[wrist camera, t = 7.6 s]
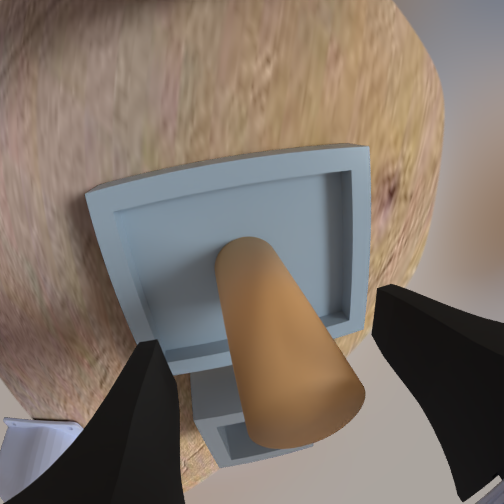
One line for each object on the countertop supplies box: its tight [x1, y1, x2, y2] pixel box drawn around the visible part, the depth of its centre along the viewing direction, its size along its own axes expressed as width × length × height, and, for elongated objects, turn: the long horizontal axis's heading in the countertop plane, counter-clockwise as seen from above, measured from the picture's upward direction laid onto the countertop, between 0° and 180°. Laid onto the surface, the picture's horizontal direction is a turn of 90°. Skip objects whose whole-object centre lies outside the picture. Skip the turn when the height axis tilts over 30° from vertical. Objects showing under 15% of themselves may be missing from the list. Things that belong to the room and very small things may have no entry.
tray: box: [85, 143, 371, 375], centre depth 14 cm, size 12×10×2 cm
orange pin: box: [214, 237, 365, 449], centre depth 10 cm, size 3×3×8 cm
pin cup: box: [190, 365, 313, 468], centre depth 17 cm, size 7×7×4 cm
